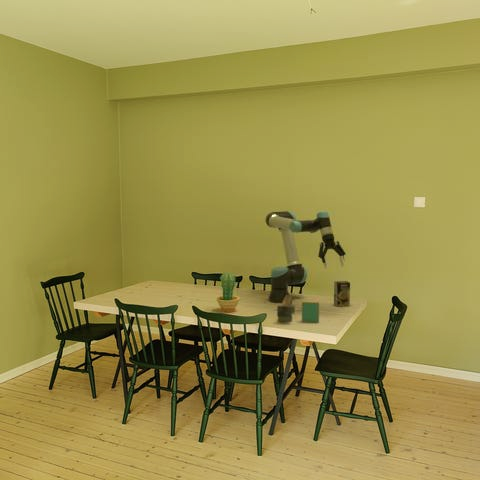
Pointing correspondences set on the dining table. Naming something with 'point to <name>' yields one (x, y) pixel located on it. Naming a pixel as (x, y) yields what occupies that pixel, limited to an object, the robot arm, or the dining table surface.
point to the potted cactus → (228, 293)
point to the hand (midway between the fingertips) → (335, 267)
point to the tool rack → (287, 317)
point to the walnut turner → (285, 307)
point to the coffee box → (341, 293)
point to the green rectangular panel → (310, 311)
